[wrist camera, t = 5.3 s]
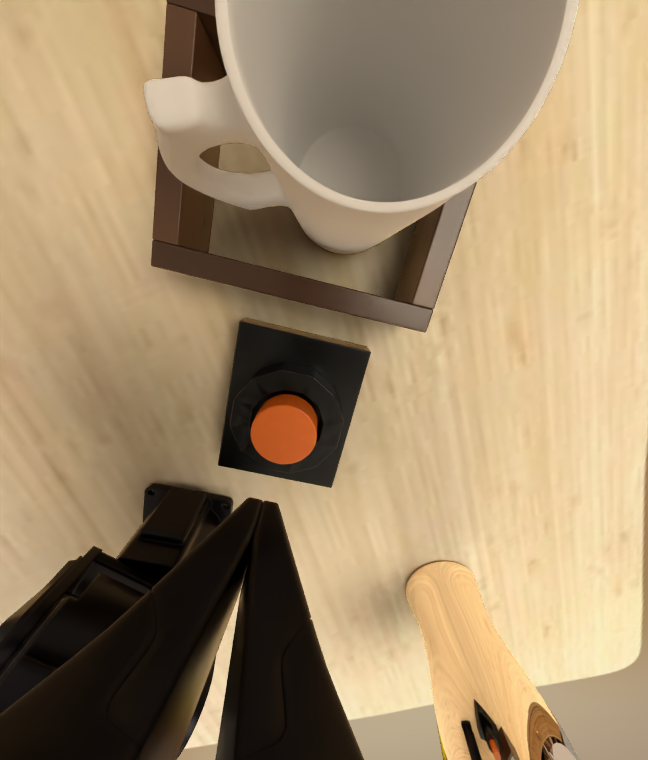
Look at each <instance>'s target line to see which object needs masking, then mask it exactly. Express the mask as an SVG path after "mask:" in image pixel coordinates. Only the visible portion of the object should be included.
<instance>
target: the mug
mask: <svg viewBox="0 0 648 760" xmlns="http://www.w3.org/2000/svg"><path fill="white" fill-rule="evenodd" d="M578 4H579V0H215V15H216V25H217V33H218V40H219V45H220V51H221V55H222V59H223V63H224V67H225V70H226V73H227V76H225V77H224V78H222V79H219V80H216V81H213V82H204V83H202V82H199V81H196V80H194V79H193V78H190V77H186V76H179V77H171V78H164V79H151V80H148V81H147V82H146V83H145V85H144V99H145V103H146V107H147V110H148V113H149V115H150V118H151V120H152V122H153V123H154V125H155V131H156V137H157V142H158V146H159V150H160V153H161V156H162V158H163V160H164V162H165V164H166V166H167V168H168V169H169V170H170V171H171V173H172V174H173V175H174V176H175V177H176V178H178V179H179V180H180V181H181V182H183V183H184V184H186V185H188V186H189V187H191V188H193V189H195V190H197V191H199V192H201V193H203V194H205V195H208V196H210V197H213V198H215V199H218V200H221V201H223V202H226V203H229V204H232V205H235V206H238V207H241V208H244V209H248V210H255V209H261V208H266V207H272V206H286V207H289V208H290V209H291V210H292V212H293V213H294V215H295V217H296V219H297V221H298V222H299V224H300V226H301V227H302V229H303V230H304V232H305V233H306V234H307V236H308V237H309V238H310V239H311V240H312V241H313V242H315V243H316V244H317V245H319V246H320V247H322V248H324V249H326V250H328V251H331V252H334V253H339V254H354V253H359V252H362V251H365V250H367V249H369V248H371V247H373V246H375V245H377V244H379V243H381V242H383V241H384V240H386V239H387V238H389V237H390V236H392V235H394V234H395V233H397V232H399V231H400V230H402V229H404V228H405V227H407V226H409V225H410V224H412V223H414V222H415V221H417V220H419V219H420V218H422V217H424V216H425V215H427V214H429V213H430V212H432V211H433V210H435V209H437V208H438V207H439V206H441V205H442V204H444V203H445V202H446V201H448V200H449V199H450V198H452V197H453V196H454V195H456V194H458V193H460V192H462V191H463V190H465V189H466V188H468V187H470V186H471V185H472V184H474V183H475V182H477V181H478V180H479V179H481V178H482V177H483V176H484V175H486V174H487V173H488V172H489V171H490V170H491V169H493V168H494V167H495V166H496V165H497V164H498V163H499V162H500V161H501V160H502V159H503V158H504V157H505V156H506V155H507V154H508V153H509V152H510V151H511V149H512V148H513V147H514V146H515V145H516V144H517V142H518V141H519V140H520V139H521V137H522V136H523V135H524V133H525V132H526V131H527V129H528V128H529V126H530V125H531V123H532V122H533V120H534V119H535V117H536V116H537V114H538V112H539V111H540V109H541V107H542V106H543V104H544V102H545V100H546V98H547V96H548V95H549V93H550V91H551V88H552V86H553V84H554V82H555V80H556V78H557V75H558V73H559V70H560V68H561V65H562V63H563V60H564V57H565V54H566V51H567V48H568V45H569V42H570V38H571V35H572V31H573V27H574V23H575V19H576V14H577V9H578ZM229 143H242V144H248V145H250V146H253V147H256V148H257V149H258V150H259V151H260V152H261V153H262V154H263V155H264V157H265V159H266V160H267V162H268V164H269V166H270V168H271V169H272V170H269V171H265V172H259V173H235V172H228V171H224V170H220V169H217V168H215V167H213V166H211V165H209V164H207V163H206V162H204V161H203V160H202V159H201V158H200V157H199V155H200V154H201V153H202V152H203V151H205V150H206V149H208V148H211V147H214V146H218V145H221V144H229Z"/></svg>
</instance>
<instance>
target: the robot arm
mask: <svg viewBox="0 0 648 760" xmlns="http://www.w3.org/2000/svg"><path fill="white" fill-rule="evenodd" d="M152 490H153V491H154V492H153V491H152ZM262 503H263V504H262ZM224 504H227V505H228V506H226V505H224ZM232 508H233V501H232V500H231V499H230V498H227V497H222V496H216V495H211V494H206V493H201V492H195V491H190V490H185V489H180V488H174V487H169V486H164V485H159V484H150V485H149V486H148V487H147V488H146V489H145V496H144V510H143V523H142V525H141V526H140V527H139V529H138V530H137V531H136V532H135V534H134V535H133V536H132V538H131V539H130V540H129V542H128V543H127V544H126V546H125V547H124V548H123V550H122V551H121V552H120V554H119V555H118V556H117V558H116V559H115V558H113V557H111V556H109V555H107V554H105V553H103V552H102V550H101V549H99V548H97V547H95V546H93V547H92V548H91V549H90V550H89V551H88V553H87V554H86V555H85V556H84V557H82V556H80V557H79V558H78V559H77V560H71V561H68V562H67V564H66V565H65V566H64V567H63V568H62V569H61V570H60V571H59V572H58V573H57V574H56V575H55V577H54V578H53V579H52V580H51V581H50V582H49V583H48V584H47V585H46V586H45V587H44V588H43V589H42V590H41V591H40V592H38V593H37V594H36V595H35V596H34V597H33V598H31V599H30V600H29V601H28V602H27V603H25V604H24V605H23V606H22V607H21V608H20V609H18V610H17V611H16V612H15V613H14V614H13V615H11V616H10V617H9V618H8V619H7V620H6V621H5V622H4V623H3V624H2V625H1V626H0V760H176V759H177V758H178V757H179V755H180V754H181V752H182V751H183V749H184V748H185V746H186V744H187V742H188V740H189V738H190V737H191V735H192V733H193V730H194V728H195V726H196V724H197V722H198V719H199V717H200V714H201V712H202V709H203V707H204V704H205V701H206V698H207V695H208V692H209V689H210V685H211V681H212V677H213V672H214V665H215V659H216V653H217V651H218V648H219V645H220V643H221V640H222V637H223V635H224V632H225V630H226V627H227V624H228V622H229V619H230V616H231V614H232V611H233V609H234V606H235V603H236V601H237V598H238V595H239V592H240V589H241V594H240V599H239V606H238V612H237V619H236V626H235V633H234V639H233V646H232V653H231V659H230V666H229V673H228V679H227V686H226V693H225V699H224V706H223V713H222V719H221V726H220V733H219V739H218V746H217V754H216V760H364V758H363V756H362V753H361V751H360V748H359V746H358V744H357V741H356V739H355V736H354V734H353V731H352V729H351V727H350V724H349V722H348V719H347V717H346V714H345V712H344V709H343V707H342V705H341V702H340V700H339V697H338V695H337V692H336V689H335V687H334V684H333V682H332V679H331V676H330V674H329V671H328V669H327V666H326V663H325V660H324V657H323V654H322V651H321V648H320V645H319V642H318V638H317V635H316V632H315V628H314V625H313V621H312V620H311V619H310V618H311V615H310V612H309V608H308V605H307V601H306V598H305V595H304V591H303V588H302V584H301V581H300V577H299V574H298V571H297V567H296V564H295V560H294V557H293V553H292V550H291V547H290V543H289V540H288V536H287V533H286V529H285V526H284V523H283V519H282V516H281V512H280V509H279V506H278V504H277V503H274V502H269V501H264V502H262V500H260V499H255V498H248V499H246V500H245V501H244V502H243V503H242V504H241V505H240V506H239V507H238V508H237V509H236V510H235V511H234V512H232ZM243 579H244V580H243ZM242 582H243V584H242ZM241 586H242V588H241Z"/></svg>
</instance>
